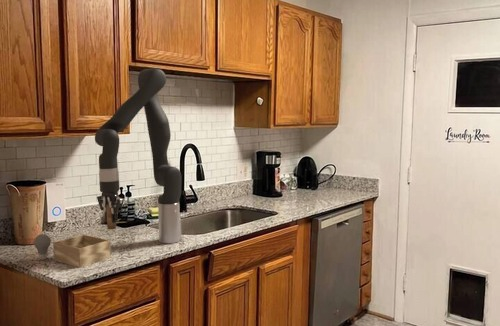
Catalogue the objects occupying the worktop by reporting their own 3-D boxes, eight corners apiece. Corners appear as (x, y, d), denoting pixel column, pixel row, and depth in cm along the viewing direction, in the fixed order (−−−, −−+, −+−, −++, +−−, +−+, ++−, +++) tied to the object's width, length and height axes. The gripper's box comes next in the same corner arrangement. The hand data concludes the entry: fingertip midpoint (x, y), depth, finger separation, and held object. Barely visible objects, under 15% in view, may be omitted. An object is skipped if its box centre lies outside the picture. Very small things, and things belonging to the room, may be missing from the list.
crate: (84, 251, 196) (83, 234, 195) (110, 257, 187) (110, 240, 186) (54, 260, 184) (53, 242, 184) (80, 267, 176) (79, 248, 175)
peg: (112, 226, 194) (111, 202, 193) (118, 227, 192) (116, 203, 191) (105, 228, 191) (104, 204, 190) (111, 229, 190) (109, 205, 188)
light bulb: (48, 261, 182) (47, 236, 181) (32, 262, 182) (31, 236, 181) (53, 257, 188) (52, 232, 187) (37, 257, 188) (36, 232, 187)
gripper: (128, 179, 189) (130, 222, 191) (105, 176, 196) (107, 217, 199) (113, 182, 182) (116, 226, 185) (89, 179, 190) (92, 221, 192)
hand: (111, 221), depth 192 cm, fingers closed on peg, 3 cm apart
